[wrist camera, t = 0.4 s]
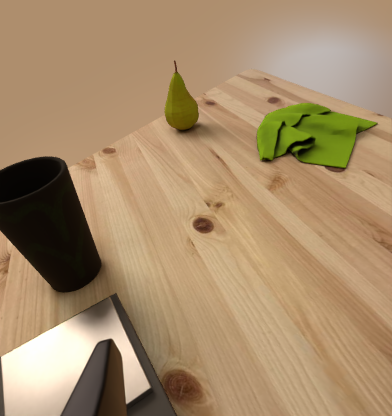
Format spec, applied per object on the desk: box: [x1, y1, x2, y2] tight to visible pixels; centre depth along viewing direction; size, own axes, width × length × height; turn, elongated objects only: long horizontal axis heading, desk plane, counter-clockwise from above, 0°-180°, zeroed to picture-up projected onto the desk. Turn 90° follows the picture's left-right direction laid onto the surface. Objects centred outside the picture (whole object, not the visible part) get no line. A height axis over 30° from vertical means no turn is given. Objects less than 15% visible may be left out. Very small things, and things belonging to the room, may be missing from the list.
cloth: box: [257, 103, 377, 168], centre depth 49 cm, size 20×22×2 cm
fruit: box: [165, 61, 199, 130], centre depth 56 cm, size 6×6×12 cm
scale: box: [0, 293, 177, 416], centre depth 22 cm, size 12×10×3 cm
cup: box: [0, 157, 101, 292], centre depth 30 cm, size 8×8×12 cm
